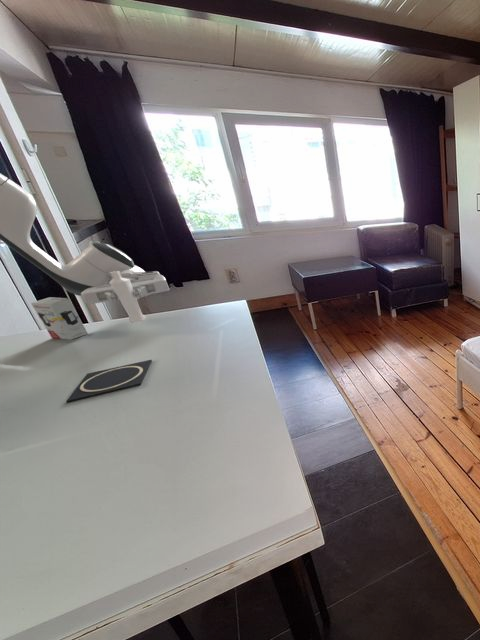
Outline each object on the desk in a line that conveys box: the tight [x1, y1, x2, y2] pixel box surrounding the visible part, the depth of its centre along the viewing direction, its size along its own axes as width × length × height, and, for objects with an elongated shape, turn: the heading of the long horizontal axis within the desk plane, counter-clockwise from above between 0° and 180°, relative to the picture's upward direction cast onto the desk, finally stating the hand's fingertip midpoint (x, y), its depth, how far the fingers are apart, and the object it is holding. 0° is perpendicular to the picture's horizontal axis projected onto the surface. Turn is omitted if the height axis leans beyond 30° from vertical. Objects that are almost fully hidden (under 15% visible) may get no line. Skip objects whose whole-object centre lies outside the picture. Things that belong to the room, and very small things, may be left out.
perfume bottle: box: [108, 271, 146, 324], centre depth 108 cm, size 5×4×15 cm
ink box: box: [30, 296, 89, 341], centre depth 111 cm, size 9×5×12 cm, turn 76°
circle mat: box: [66, 359, 153, 403], centre depth 88 cm, size 13×14×1 cm
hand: (125, 295), depth 107 cm, fingers closed on perfume bottle, 4 cm apart
